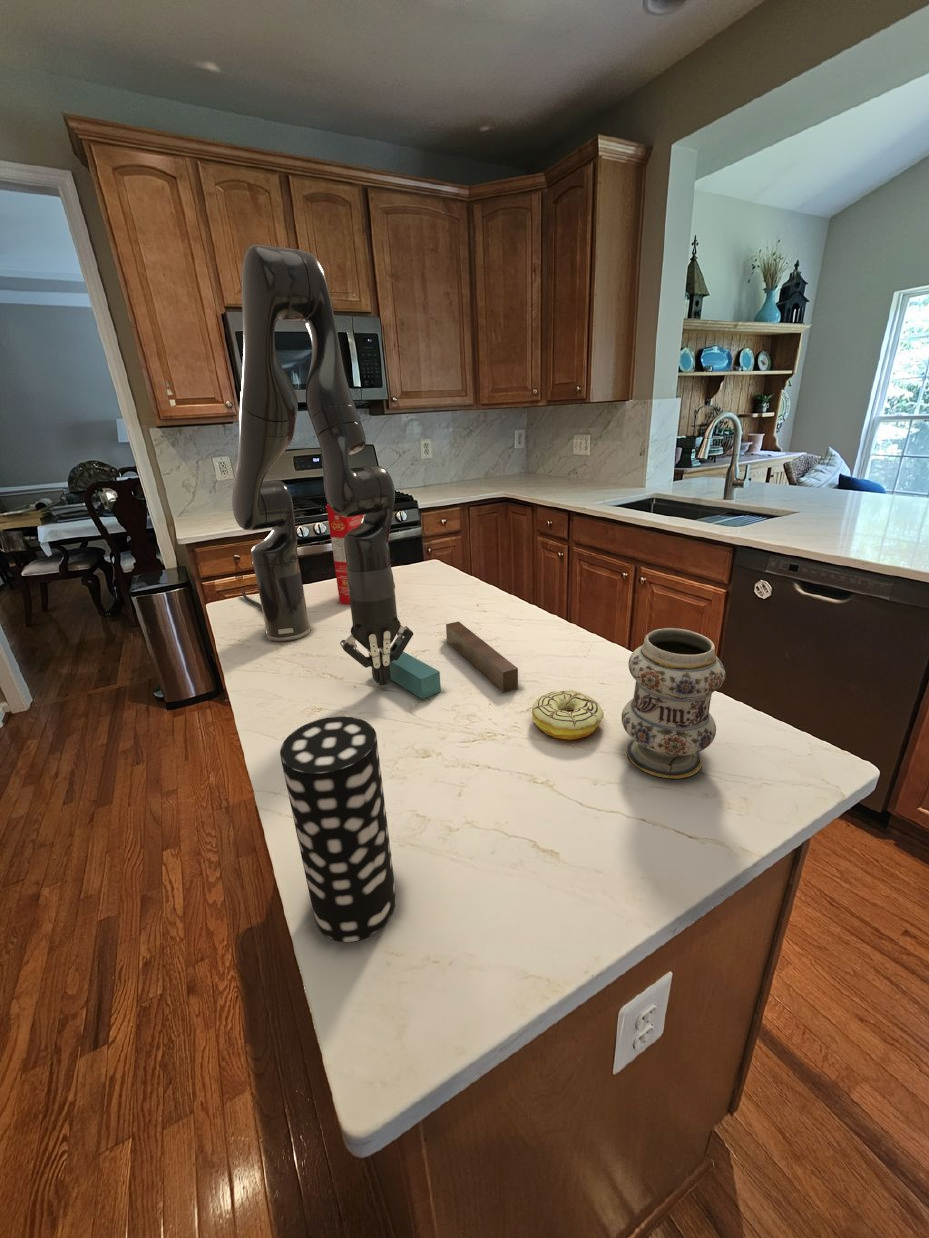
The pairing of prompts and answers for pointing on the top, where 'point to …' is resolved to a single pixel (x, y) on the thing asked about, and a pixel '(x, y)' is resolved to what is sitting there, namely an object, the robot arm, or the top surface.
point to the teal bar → (415, 676)
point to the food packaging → (341, 548)
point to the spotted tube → (341, 825)
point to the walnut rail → (483, 657)
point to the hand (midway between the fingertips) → (382, 683)
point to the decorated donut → (567, 714)
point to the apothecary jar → (672, 702)
